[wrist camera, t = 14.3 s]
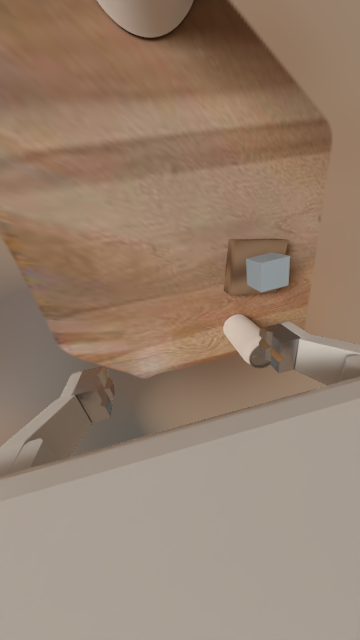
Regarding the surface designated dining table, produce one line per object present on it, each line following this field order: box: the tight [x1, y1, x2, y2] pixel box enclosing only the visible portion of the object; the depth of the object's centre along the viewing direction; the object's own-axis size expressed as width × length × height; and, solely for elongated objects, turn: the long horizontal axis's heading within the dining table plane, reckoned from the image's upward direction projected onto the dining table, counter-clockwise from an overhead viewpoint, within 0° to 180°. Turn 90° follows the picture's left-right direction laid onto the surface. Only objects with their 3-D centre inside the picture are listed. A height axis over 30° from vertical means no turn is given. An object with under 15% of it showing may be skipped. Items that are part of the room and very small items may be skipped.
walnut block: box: [224, 239, 289, 296], centre depth 38 cm, size 10×10×4 cm
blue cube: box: [246, 252, 290, 292], centre depth 34 cm, size 5×5×5 cm
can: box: [223, 314, 271, 368], centre depth 40 cm, size 6×6×12 cm
